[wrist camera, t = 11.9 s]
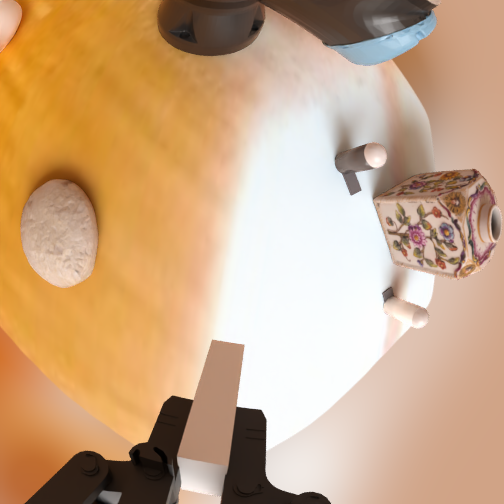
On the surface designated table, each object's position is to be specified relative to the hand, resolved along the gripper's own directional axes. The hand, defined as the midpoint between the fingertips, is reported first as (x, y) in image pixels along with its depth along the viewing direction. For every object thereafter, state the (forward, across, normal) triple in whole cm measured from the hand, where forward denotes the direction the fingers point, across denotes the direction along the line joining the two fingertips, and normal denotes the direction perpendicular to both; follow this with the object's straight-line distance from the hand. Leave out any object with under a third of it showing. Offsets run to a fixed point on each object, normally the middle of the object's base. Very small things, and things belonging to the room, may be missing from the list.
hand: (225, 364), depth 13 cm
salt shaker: (+29, +24, -8) cm, 38 cm away
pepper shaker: (+29, +11, +12) cm, 33 cm away
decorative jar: (+32, +24, +6) cm, 40 cm away
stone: (+17, -23, 0) cm, 29 cm away
